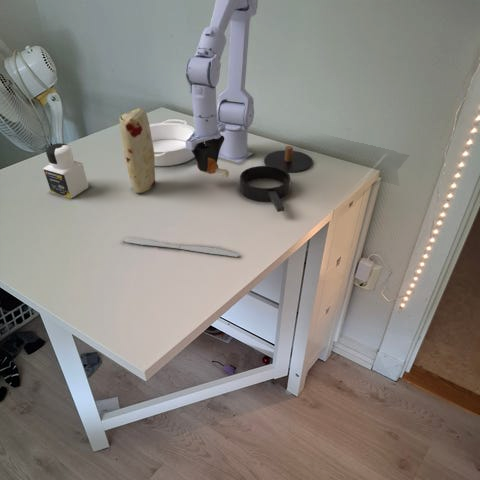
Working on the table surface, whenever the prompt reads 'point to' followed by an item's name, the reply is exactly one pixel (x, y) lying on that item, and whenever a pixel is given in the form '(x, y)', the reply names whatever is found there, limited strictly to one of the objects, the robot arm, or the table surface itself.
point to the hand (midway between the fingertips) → (208, 167)
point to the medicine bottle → (64, 171)
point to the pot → (171, 142)
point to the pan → (264, 173)
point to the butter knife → (181, 247)
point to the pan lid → (289, 160)
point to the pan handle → (276, 201)
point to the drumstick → (215, 168)
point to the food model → (138, 149)
